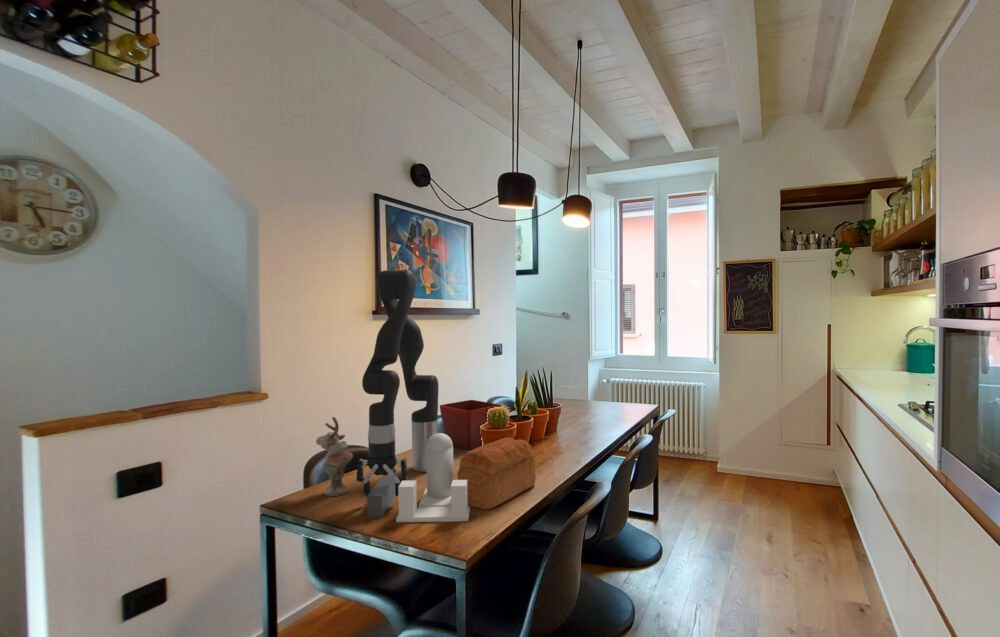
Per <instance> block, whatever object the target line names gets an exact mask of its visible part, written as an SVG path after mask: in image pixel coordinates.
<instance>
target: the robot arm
mask: <svg viewBox="0 0 1000 637" xmlns="http://www.w3.org/2000/svg"><path fill="white" fill-rule="evenodd" d="M416 282H417V281H416V277H415V275H414V272H412V271H411V269H391V270H390V269H386V270H381V271H380V272H379V273H378V275H377V278H376V285H377V286H376V287H377V291H378V292H377V293H378V294H379V297H380V300H381V303H382V305H383V307H384V311H385V313H386V316H387V319H386V320H385V322H384V323H383V324H382V326H381V327H380V329H379V330H378V333H377V337H376V339H375V345H374V350H373V354H372V357H371V359H370V362H369V363H368V365H367V368H366V369H365V371H364V374H363V376H362V382H361V384H362V385H361V386H362V389H363V391H364V392H365V393H366V394H368V395H374V396H375V395H379V396H380V395H383V398H382V400H381V401H378V402H373V403H371V404H370V405H369V408H368V435H367V440H368V459H364V458H360V459H359V460H358V461H357V463H356V482H357V483H358V482H361V483H362V485H363V494H364V496H365V497H366V498H367V496H368V494H369V493H370V492H371V481H370V479H371V478H372V477H373V475H375V476H383V475H390V476H391V478H393V479H394V480H395V482H396V483H395V497H398V487H399V485H400V483H401V482H402V481H407V479H408V477H409V476H408V463H407V462H408V461H407V458H406V457H403V458H402V459H397V457H396V429H395V405H396V402H397V401H396V400H397V396H398V393H399V389H400V386H401V385H400V383H401V382H400V381H401V380H400V376H399V374H398V373H397V372H396V371H394V370H389V369H386V370H383V369H384V368H385V367H386V366H390V365H394V364H395V363H397V361H398V357H399V362H400V365H401V369H402V374H403V380H404V386H405V390H406V395H407V397H408V399H409V400H410V401H414V402H426V405H425V406H424V407H422V408H421V409H418V410H414V411H413V412H412V413H411V460H412V461H411V463H412V465H411V466H412V469H411V470H413V471H416V472H421V473H422V472H423V473H424V472H426V444H427V441H428V439H429V438H430V437H431V436H432V435H434V434H437V433H439V430H438V429H439V428H438V427H439V426H438V419H439V418H438V414H439V413H438V412H439V388H440V387H439V380H438V378H437V376H435V375H433V374H430V375H428V374H426V375H424V374H417V373H416V365H417V363H418V361H419V359H420V357H421V356H422V353H423V350H424V347H425V346H424V344H425V343H424V339H423V336H422V335H423V334H422V331H421V328H420V326H419V325H418V324H417V322H416V321H415V320H414V319H413V318H412V317H411V316H410V315H409V312H410V309H411V306H412V304H413V299H414V296H415V293H416V285H417V283H416ZM366 465H367V466H368V468H369V469H370V470H369V472H368V473H367V475H366V476H364V468H365V467H366ZM396 466H398V467H399V468H400V469H401V470H400V471H401V475H400V474H399V472H398V471H397V469H396V468H395V467H396ZM426 473H427V472H426Z"/></svg>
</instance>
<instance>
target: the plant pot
mask: <svg viewBox="0 0 1000 637" xmlns="http://www.w3.org/2000/svg"><path fill="white" fill-rule="evenodd" d="M494 407H502V405H501V404H499V403H493V402H488V401H481V400H476V399H475V400H474V399H468V400H467V399H466V400H462V401H456V402H455V401H454V402H449V403H445V404H440V405H439V410H440V417H441V420H442V425H443V428H444V431H445V434H446V435H448V436H449V437H450V438H451V440H452V443H453V446H455V447H458V448H462V449H465V448H466V449H467V450H473V448H474V449H476V448H478V447H480V446H482V440H481V434H480V426H481V425H483V424H485V423H486V422H487V412H488V409H490V408H494Z"/></svg>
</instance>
